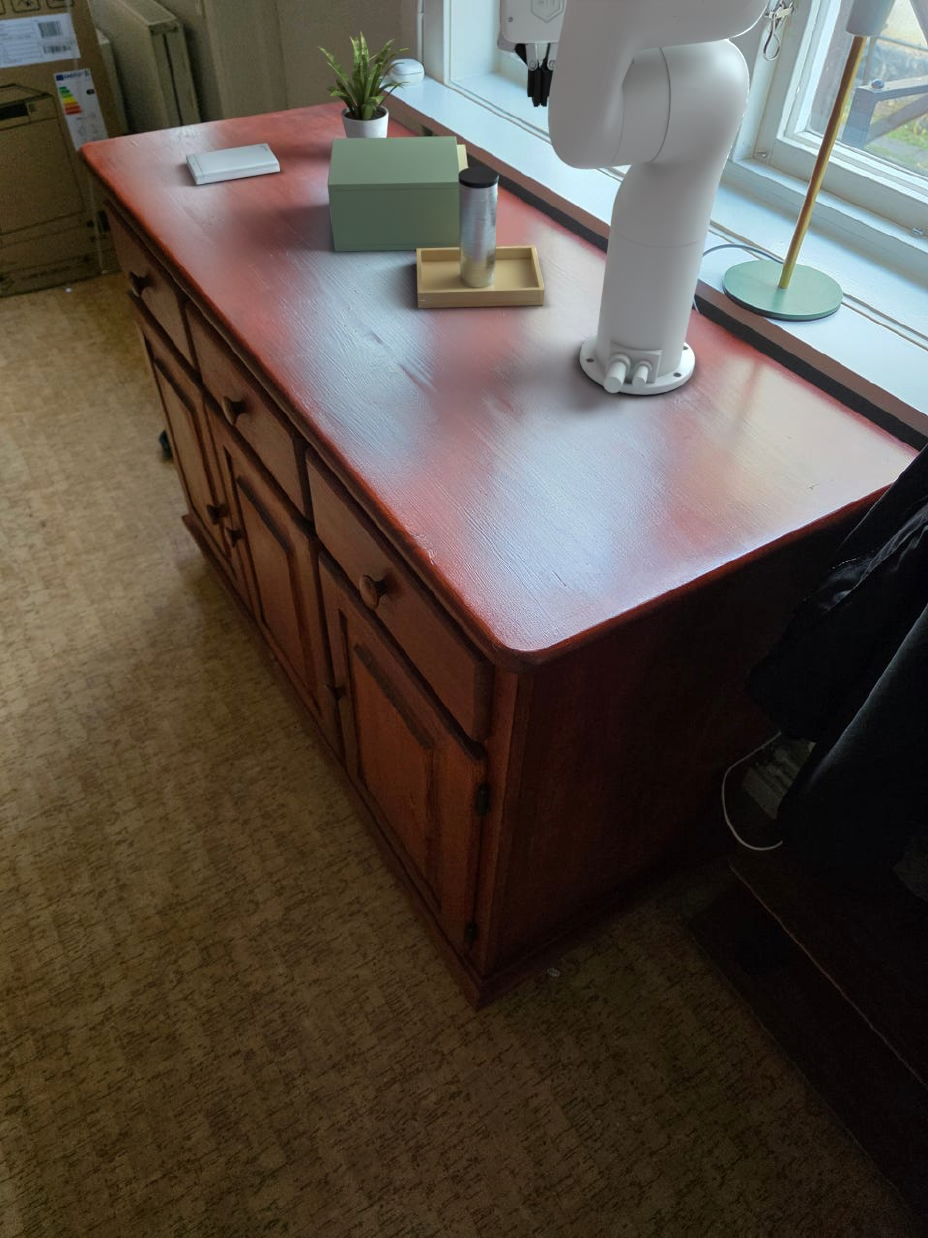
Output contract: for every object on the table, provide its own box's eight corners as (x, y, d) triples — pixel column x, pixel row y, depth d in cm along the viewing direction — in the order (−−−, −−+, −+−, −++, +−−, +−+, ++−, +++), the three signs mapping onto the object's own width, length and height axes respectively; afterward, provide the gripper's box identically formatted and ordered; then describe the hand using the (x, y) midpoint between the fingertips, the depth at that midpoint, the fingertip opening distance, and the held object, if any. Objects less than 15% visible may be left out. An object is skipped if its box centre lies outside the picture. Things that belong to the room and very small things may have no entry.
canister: (489, 290, 109) (492, 185, 99) (454, 285, 110) (453, 180, 100) (499, 273, 112) (503, 168, 102) (465, 267, 112) (465, 164, 103)
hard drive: (266, 141, 137) (184, 153, 133) (278, 161, 131) (194, 174, 128) (267, 152, 138) (187, 164, 135) (280, 173, 133) (197, 185, 130)
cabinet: (456, 200, 127) (455, 135, 120) (461, 248, 117) (461, 181, 110) (339, 202, 126) (332, 137, 120) (334, 251, 116) (327, 184, 110)
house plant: (438, 163, 135) (436, 39, 123) (359, 185, 130) (348, 58, 117) (389, 133, 143) (383, 14, 130) (313, 152, 138) (298, 30, 125)
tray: (534, 260, 115) (535, 245, 113) (543, 304, 107) (544, 289, 106) (416, 263, 114) (416, 247, 113) (418, 308, 107) (417, 292, 105)
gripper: (482, -75, 94) (481, 115, 107) (622, -78, 94) (603, 112, 108) (477, -89, 99) (477, 94, 112) (610, -91, 99) (594, 91, 113)
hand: (539, 102), depth 110 cm, fingers closed
